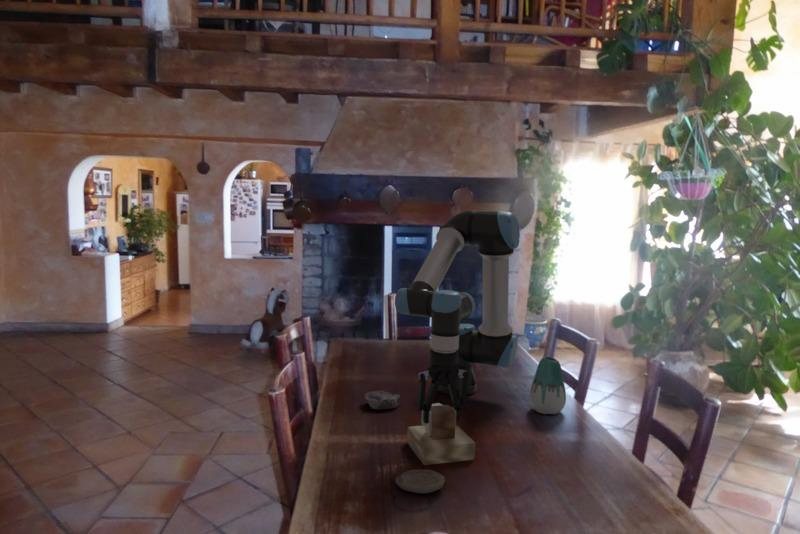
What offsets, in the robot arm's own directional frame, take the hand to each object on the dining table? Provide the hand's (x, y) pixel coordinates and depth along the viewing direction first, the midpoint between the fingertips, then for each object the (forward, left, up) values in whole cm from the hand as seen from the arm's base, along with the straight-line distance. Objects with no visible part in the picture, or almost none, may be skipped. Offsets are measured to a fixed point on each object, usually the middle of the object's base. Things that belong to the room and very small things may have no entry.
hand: (440, 433), depth 156 cm
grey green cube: (-4, -16, -5) cm, 17 cm away
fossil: (+11, +18, -5) cm, 22 cm away
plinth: (0, 0, -5) cm, 5 cm away
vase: (-44, -22, -5) cm, 49 cm away
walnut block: (0, 0, 0) cm, 0 cm away
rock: (+8, -35, -5) cm, 36 cm away
